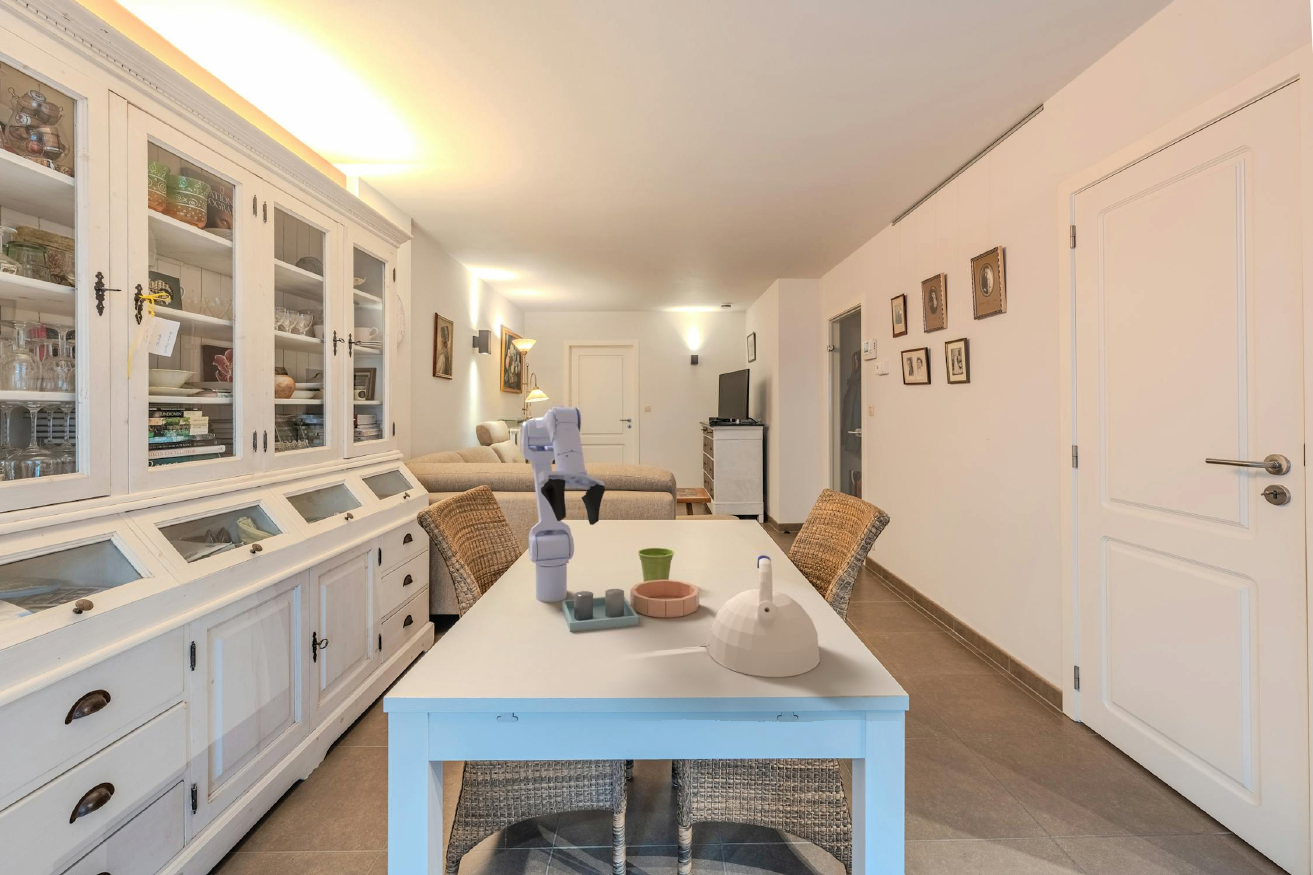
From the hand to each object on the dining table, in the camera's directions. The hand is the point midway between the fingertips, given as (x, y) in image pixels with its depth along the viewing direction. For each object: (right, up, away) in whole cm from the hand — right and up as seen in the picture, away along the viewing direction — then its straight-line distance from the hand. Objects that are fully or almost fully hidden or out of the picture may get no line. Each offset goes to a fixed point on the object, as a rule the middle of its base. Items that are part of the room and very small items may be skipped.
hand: (578, 520), depth 110 cm
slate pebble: (+6, -22, +14) cm, 27 cm away
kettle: (+35, -24, -3) cm, 43 cm away
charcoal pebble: (-1, -22, +12) cm, 25 cm away
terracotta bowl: (+17, -23, +19) cm, 34 cm away
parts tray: (+3, -23, +13) cm, 26 cm away
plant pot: (+15, -22, +38) cm, 46 cm away
